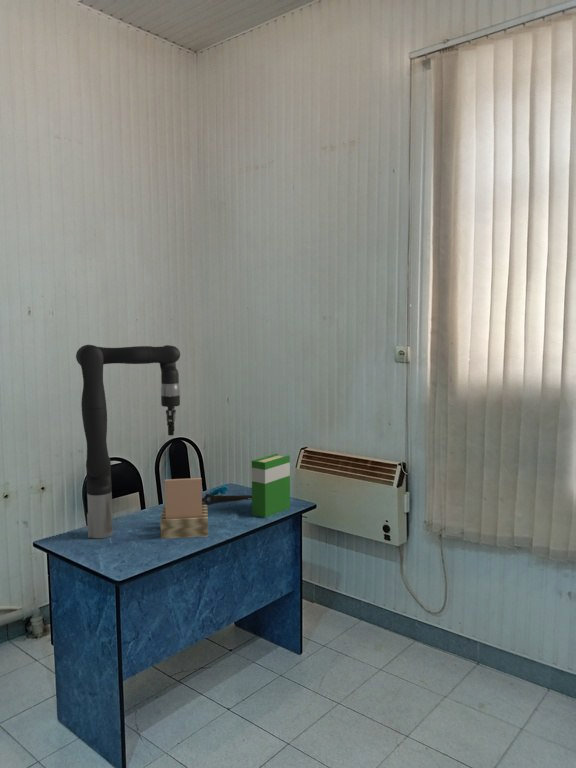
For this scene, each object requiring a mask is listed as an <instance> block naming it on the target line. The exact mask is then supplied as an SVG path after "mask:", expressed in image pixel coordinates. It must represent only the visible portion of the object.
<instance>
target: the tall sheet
mask: <svg viewBox="0 0 576 768" xmlns="http://www.w3.org/2000/svg"><path fill="white" fill-rule="evenodd" d="M202 484H203V481H202V477H193V478H192V477H191V478H174V479H173V478H172V479H169V478H168V479H164V500H165V504H164V507H165V512H166V519H183V518H202V505H203V501H202V498H203V486H202Z"/></svg>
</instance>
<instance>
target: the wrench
mask: <svg viewBox="0 0 576 768" xmlns="http://www.w3.org/2000/svg"><path fill="white" fill-rule="evenodd" d="M208 497H211V500H210V501H208V499H209V498H208ZM248 498H252V494H250V495H248V494H247V495H242V494H241V495H239V494H238V495H237V494H236V495H222V496H213V495H210V493H206V494H205V496H204V497H202V503H203V502H204V503H205V504H204V505H206V504H207V506H210V505H213V504H215V503H221V502H222V503H223V502H232V501H233V500H234V501H241V500H240V499H246V500H249V499H248Z"/></svg>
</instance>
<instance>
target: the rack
mask: <svg viewBox="0 0 576 768" xmlns="http://www.w3.org/2000/svg"><path fill="white" fill-rule="evenodd" d="M208 513H209V512H208V505H206V504H202V518H183V519H166V512H165V506H162V510H161V516H160V521H159V522H160V539H161V540H163V539H178V538H179V539H180V538H199V537H203V538H204V537H209V516H208V515H209V514H208Z"/></svg>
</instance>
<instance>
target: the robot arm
mask: <svg viewBox="0 0 576 768" xmlns="http://www.w3.org/2000/svg"><path fill="white" fill-rule="evenodd" d="M75 354H76V355H75V359H76V362H77V363H78V365H80V369H81V373H82V381H83V382H82V383H83V385H82V394H81V417H82V418H81V419H82V425H83V430H84V431H83V432H84V434H85V435H84V436H85V440H86V461H85V468H86V495H87V496H86V498H87V514H86V520H87V521H86V522H87V523H86V524H87V538H90V539H104V538H109V537H111V536H113V534H114V522H113V519H114V517H113V496H112V495H113V493H112V491H113V490H112V471H111V469H112V467H111V465H112V463H111V458H110V456H109V451H108V447H107V446H108V443H107V437H108V436H107V435H108V433H107V432H108V409H107V400H106V393H105V385H104V384H105V383H104V365H109V364H110V365H111V364H125V365H144V364H145V365H146V364H147V365H148V364H149V365H150V364H159V366H160V367H159V368H160V372H161V374H160V375H161V376H160V379H161V380H160V382H161V383H160V385H161V387H160V401H161V402H160V403H161V404H160V405H161V407H164V408H165V407H166V408H167V409H166V410H165V417H166V418H165V419H166V425H167V435H168V436H174V435H175V422H176V415H177V409H175V408H176V407H179V406H180V405H181V400H180V399H181V398H180V397H181V395H180V394H181V391H180V388H181V387H180V383H179V381H180V379H179V378H180V377H179V370H178V369H177V364H176V362H177V361H179V359H181V358H180V357H181V351H180V350H179V349H178V347H177V346H174V345H168V344H166V345H163V346H151V345H149V346H146V345H143V346H142V345H139V346H137V345H136V346H125V347H105V346H104V347H103V346H97V345H93V344H85V345H83V346H81V347H80V348H78V349H77V351H76V353H75Z"/></svg>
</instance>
